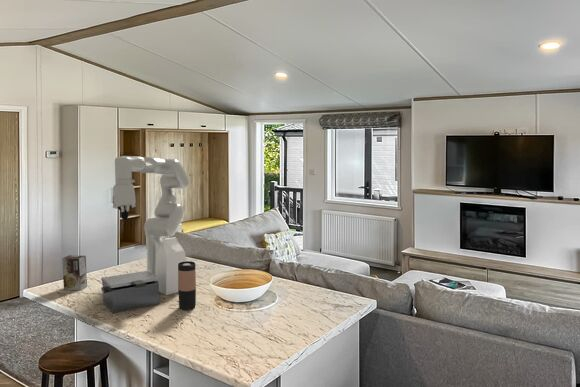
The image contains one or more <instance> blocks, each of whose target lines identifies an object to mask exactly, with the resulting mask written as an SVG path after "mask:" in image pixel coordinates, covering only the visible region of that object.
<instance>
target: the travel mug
mask: <svg viewBox="0 0 580 387" xmlns="http://www.w3.org/2000/svg"><path fill="white" fill-rule="evenodd" d="M196 273H197V272H196V261H195V262H194V261H188V260H186V261H185V262H180V263H178V292H177V293H178V309H179V310H181V309H182V310H181V311H190V309H191V310H194V309H195V308H196V307H195V306H197V304H196V303H197V283H196V282H197V281H196V280H197V277H196ZM193 308H194V309H193Z"/></svg>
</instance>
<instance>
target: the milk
mask: <svg viewBox="0 0 580 387" xmlns="http://www.w3.org/2000/svg"><path fill="white" fill-rule="evenodd" d="M163 240H164V241H163V244H162V246H161V247H160V248H159V249H158V251H157V252H156V264H155V275H156V276H158V277H160V280H157V281H158V283H159V293H162V294H163V295H165V296H167V295H172V294H175V293H178V263H180V262H185V261H187V256H186V255H187V254H186V252H185V250H184V248H183V247H182V246H181V243H180V242H179V241H178V240H179V239H178V238H177V237H176V236H175V237H173V236H172V237H166V238H163Z"/></svg>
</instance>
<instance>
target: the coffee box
mask: <svg viewBox="0 0 580 387" xmlns="http://www.w3.org/2000/svg"><path fill="white" fill-rule="evenodd" d="M86 258H87V257H86V255H74V254H73V255H71V254H69V255H67V256H64V257H61V262H62V263H61V265H62V277H63V279H62V280H63V290H64V291H82V290H84V289H85V288H87V287H88V278H87V259H86Z"/></svg>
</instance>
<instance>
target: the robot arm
mask: <svg viewBox="0 0 580 387" xmlns="http://www.w3.org/2000/svg"><path fill="white" fill-rule="evenodd" d="M133 172H134V173H136V172H137V173H143V174H155V175H157V174H158V175H161V176H160V177H159V178H160V179H159V183H160V187H161V188H160V190H161V197H160V199H159V201H158V203H157V204H156V207H155V210H154V217H152V218H149V219H147V220H146V221H145V223H144V224H143V225H144V226H143V229H144V234H145V238H146V241H145V242H146V264H147V266H146V268H147V270H146V271H149V272H151V273H153V274H154V275H155V264H156V252H157V251H158V249H159V248H160V247H161V246H162V244H163V241H164V237H165V238H172V237H173V236H175V234H176V232H177V230H178V228H179V226H180V224H181V222H182V219H183V216H184V208H183V206H182V205H181V204H180V203H176V202H177V195H176V193H175V191H174V189H180V190H181V189H182V190H183V189H186V188H188V186H189V185H190V178H189V176H188V174H187V172H186V170H185V169H184V166H183V165H182V164H181V162H180V160H178V159H175V158H161V157H160V158H157V157H152V156H151V157H150V156H147V157H146V156H143V157H142V156H137V155H122V156H117V157H115V158H114V177H115V178H114V182H115V184H114V185H113V187H112V199H111V200H112V204H113V205H112V208H113V209H117V210H119V211H120V217H121V219H122V220H123V221H125V220H126V221H127V220H128V218H129V211H130V210H131V209H133V208H135V207H136V206H137V205H136V204H137V202H136V192H135V187H134V184H133V183H135V182H136V179H133V178H132V173H133ZM124 207H125V208H124Z"/></svg>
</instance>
